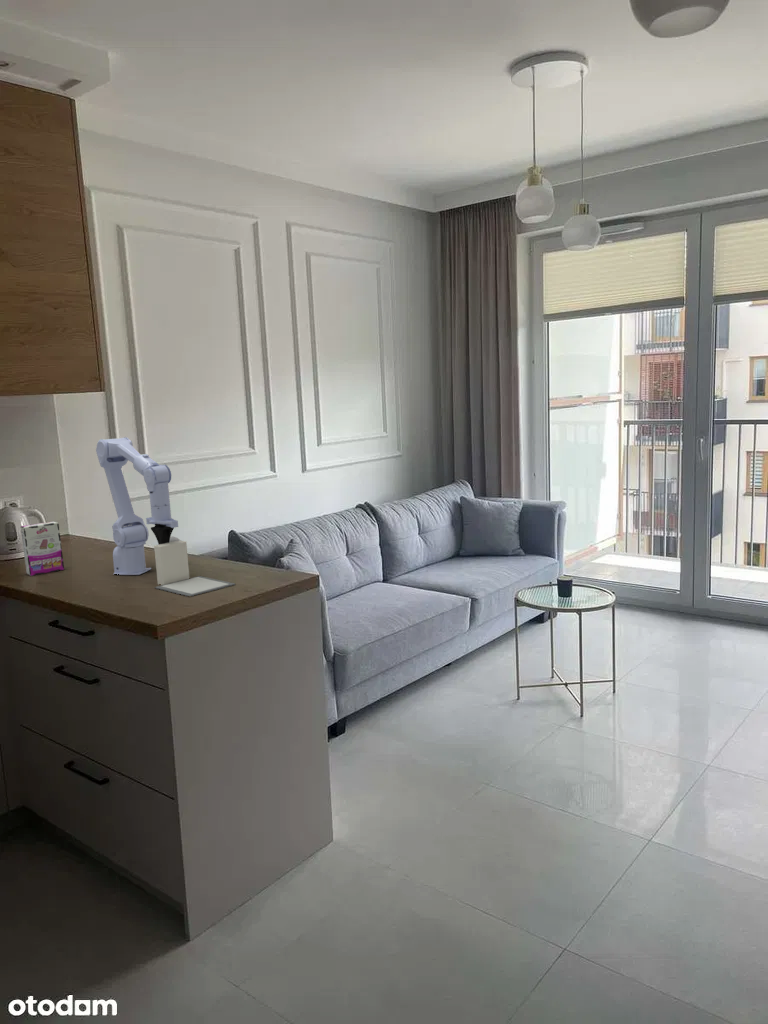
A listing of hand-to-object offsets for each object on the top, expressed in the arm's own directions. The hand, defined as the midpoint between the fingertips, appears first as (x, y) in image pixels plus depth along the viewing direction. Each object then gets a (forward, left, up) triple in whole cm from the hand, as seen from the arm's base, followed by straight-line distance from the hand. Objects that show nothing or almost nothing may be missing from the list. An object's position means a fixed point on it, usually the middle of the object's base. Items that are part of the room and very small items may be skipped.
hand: (164, 548), depth 234 cm
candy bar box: (-50, +10, -10) cm, 51 cm away
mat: (+13, -7, -10) cm, 18 cm away
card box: (+3, -2, -10) cm, 11 cm away
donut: (-9, +20, -10) cm, 24 cm away
